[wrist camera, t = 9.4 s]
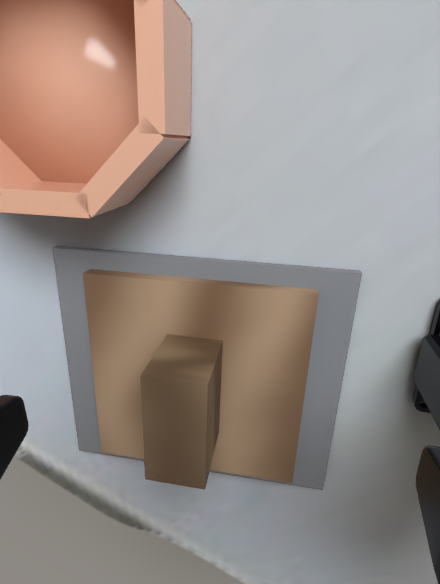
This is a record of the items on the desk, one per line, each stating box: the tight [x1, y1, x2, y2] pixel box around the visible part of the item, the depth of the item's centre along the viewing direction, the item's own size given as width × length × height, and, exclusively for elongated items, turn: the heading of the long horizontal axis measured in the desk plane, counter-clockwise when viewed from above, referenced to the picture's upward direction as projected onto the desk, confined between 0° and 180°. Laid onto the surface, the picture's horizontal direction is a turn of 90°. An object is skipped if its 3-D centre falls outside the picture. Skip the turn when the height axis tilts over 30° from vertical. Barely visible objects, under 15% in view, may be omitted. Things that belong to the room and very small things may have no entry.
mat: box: [53, 246, 362, 490], centre depth 22 cm, size 16×14×1 cm
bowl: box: [0, 0, 192, 218], centre depth 16 cm, size 11×11×4 cm
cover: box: [83, 269, 319, 489], centre depth 20 cm, size 12×12×5 cm
